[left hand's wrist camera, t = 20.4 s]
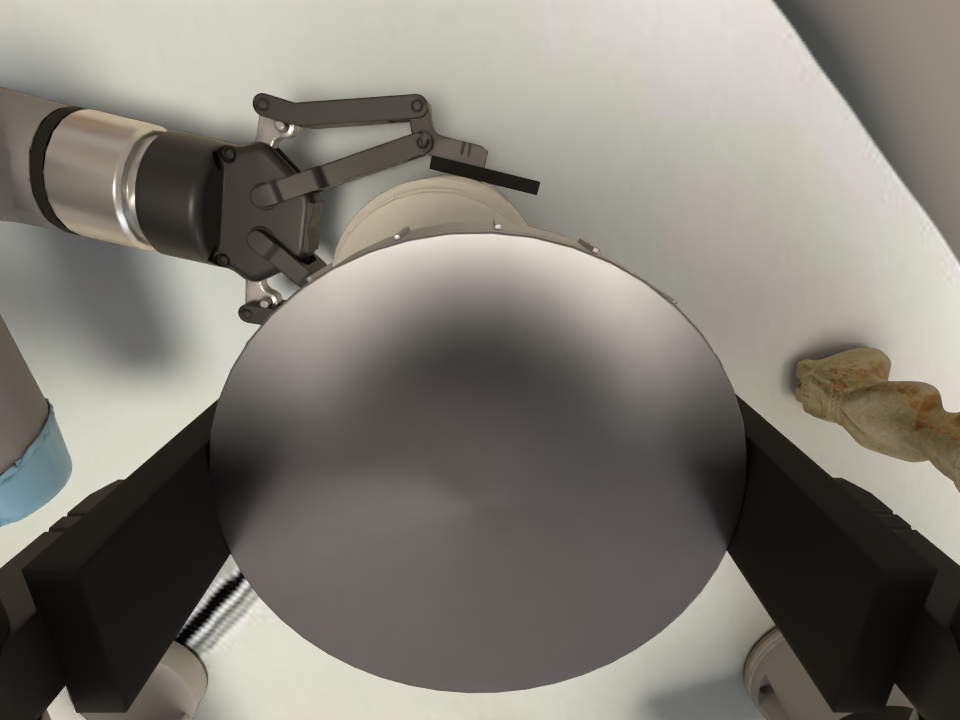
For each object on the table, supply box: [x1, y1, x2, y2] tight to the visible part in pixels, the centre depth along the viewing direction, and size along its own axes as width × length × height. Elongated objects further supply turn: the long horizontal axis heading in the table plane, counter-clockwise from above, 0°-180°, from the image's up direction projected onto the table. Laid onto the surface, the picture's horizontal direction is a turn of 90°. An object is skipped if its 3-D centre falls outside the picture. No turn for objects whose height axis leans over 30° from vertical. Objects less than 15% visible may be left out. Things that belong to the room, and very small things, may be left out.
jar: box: [332, 174, 528, 267], centre depth 31 cm, size 10×10×18 cm
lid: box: [209, 218, 747, 693], centre depth 11 cm, size 11×11×2 cm
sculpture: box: [795, 348, 960, 492], centre depth 36 cm, size 6×7×15 cm
